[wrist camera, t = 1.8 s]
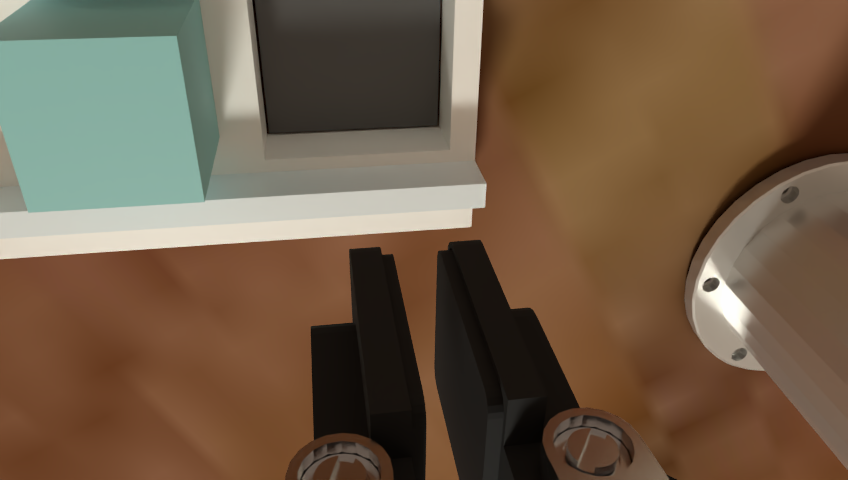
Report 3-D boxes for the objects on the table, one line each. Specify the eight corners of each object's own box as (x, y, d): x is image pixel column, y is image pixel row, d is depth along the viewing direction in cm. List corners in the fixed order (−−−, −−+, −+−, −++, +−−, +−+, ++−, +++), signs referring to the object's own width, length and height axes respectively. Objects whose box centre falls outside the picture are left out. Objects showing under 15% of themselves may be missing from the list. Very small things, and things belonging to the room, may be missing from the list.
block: (198, -7, 23) (176, 35, 19) (219, 137, 26) (204, 202, 21) (34, -3, 22) (-27, 41, 18) (73, 144, 25) (28, 212, 21)
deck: (475, -167, 24) (508, -161, 20) (459, 198, 31) (481, 252, 28) (-485, -175, 20) (-666, -171, 16) (-248, 242, 27) (-335, 312, 24)
